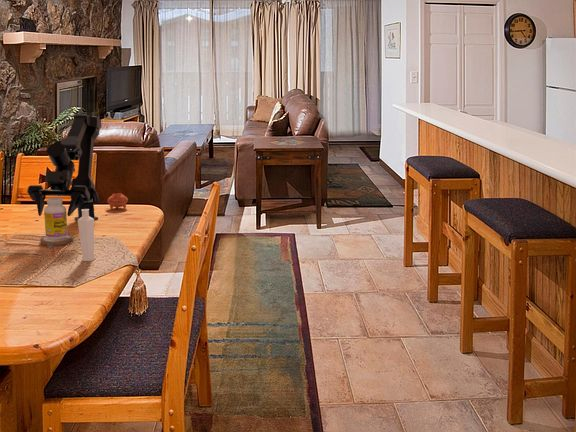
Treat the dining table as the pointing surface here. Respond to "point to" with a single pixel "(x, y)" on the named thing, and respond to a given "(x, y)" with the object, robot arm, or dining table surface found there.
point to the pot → (117, 200)
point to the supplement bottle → (55, 219)
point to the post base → (56, 241)
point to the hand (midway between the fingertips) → (53, 215)
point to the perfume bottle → (86, 235)
